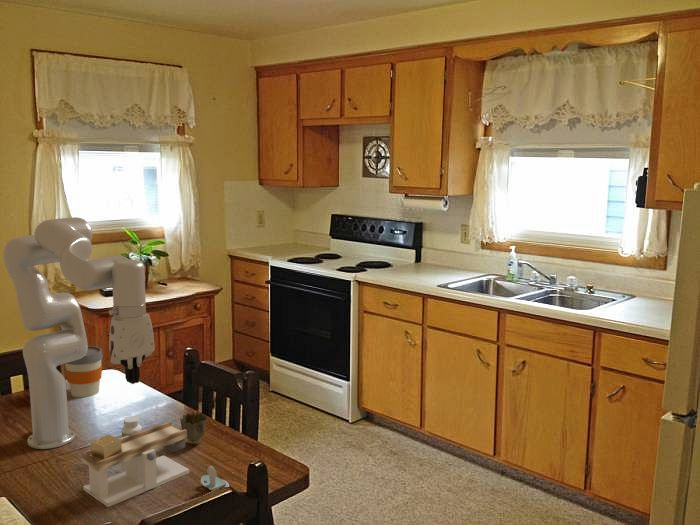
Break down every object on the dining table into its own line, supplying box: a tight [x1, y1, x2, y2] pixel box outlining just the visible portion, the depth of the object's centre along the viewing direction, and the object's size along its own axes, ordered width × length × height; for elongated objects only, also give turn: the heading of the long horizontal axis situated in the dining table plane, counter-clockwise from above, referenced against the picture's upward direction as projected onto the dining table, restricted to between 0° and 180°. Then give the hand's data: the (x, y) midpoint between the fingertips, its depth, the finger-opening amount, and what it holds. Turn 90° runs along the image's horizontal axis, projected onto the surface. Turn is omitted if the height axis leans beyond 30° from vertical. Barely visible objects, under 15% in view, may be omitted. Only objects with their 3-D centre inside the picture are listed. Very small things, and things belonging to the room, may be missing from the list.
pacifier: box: [200, 465, 230, 492], centre depth 166 cm, size 7×6×6 cm
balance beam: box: [80, 421, 187, 472], centre depth 168 cm, size 25×8×5 cm, turn 139°
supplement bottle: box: [121, 416, 143, 437], centre depth 184 cm, size 5×5×10 cm
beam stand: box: [82, 436, 190, 508], centre depth 168 cm, size 23×14×10 cm, turn 139°
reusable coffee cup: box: [64, 345, 104, 398], centre depth 228 cm, size 13×13×15 cm
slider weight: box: [90, 434, 122, 461], centre depth 161 cm, size 5×5×4 cm
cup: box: [179, 412, 208, 446], centre depth 190 cm, size 8×7×8 cm
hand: (132, 381), depth 165 cm, fingers closed
